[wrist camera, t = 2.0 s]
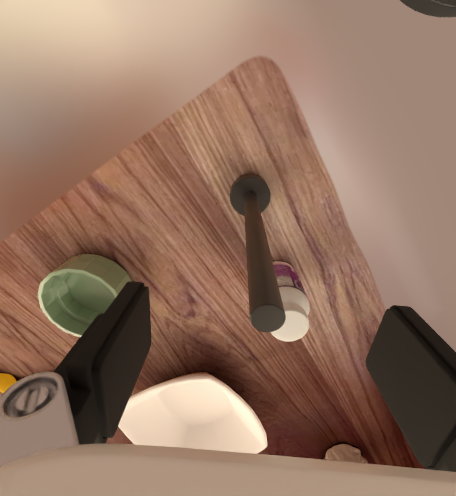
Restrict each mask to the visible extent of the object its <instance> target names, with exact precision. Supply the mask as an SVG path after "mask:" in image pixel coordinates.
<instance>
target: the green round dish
mask: <svg viewBox="0 0 456 496" xmlns="http://www.w3.org/2000/svg"><path fill="white" fill-rule="evenodd" d="M129 281H131V282H132V280H131V279H130V277H129V275H128V273H127V272H126V271H125V270H124V269H123V268H121V267H120V266H119V265H118V264H117V263H116V262H114V261H112V260H109V259H107V258H105V257H103V256H100V255H92V254H81V255H78V256H74V257H71V258H69V259H68V260H66V261H65V262H64V263H62V264H61V265H60V266H58V267H57V268H56V269H54V270H53V271H52V272H50V273H49V274H48V275H47V276H46V277H45V278H44V279H43V280H42V281H41V282H40V286H39V290H38V295H37V296H38V299H39V303H40V307H41V310H42V311H43V312H44V314H45V315H46V316H47V318H48V319H49V320H50V321H51V322H52V323H53V324H54V325H56V326H57V327H59V328H60V329H61V330H63V331H64V332H67V333H69V334H72V335H74V336H77V337H81V336H82V335H83V333H84V332H85V331H86V329H87V328H88V327H89V325H90V324H91V323H92V322H93V320H94V319H95V318H96V317H97V316H98V315H99V314H101V313H103V314H104V313H105V311H106V310H107V309H108V307H109V306H110V305H111V303H112V302H113V300H114V299H115V298H116V296H117V295H118V294H119V292H120V291H121V290H122V288H123V287H124V286H125V284H126V283H127V282H129Z"/></svg>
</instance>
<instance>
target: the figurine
mask: <svg viewBox="0 0 456 496" xmlns="http://www.w3.org/2000/svg"><path fill="white" fill-rule="evenodd" d="M323 460H332V461H343V462H355V463H366V464H368V463H367V460H366V459H365V458H363V457H362V456H361V453H360V450H359V449H358V448H355V447H352V446H350V445H347V444H339V445H335V446H333V447H332V448H330V449H328V451H327V452H326V457H325V459H323Z"/></svg>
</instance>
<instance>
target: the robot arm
mask: <svg viewBox="0 0 456 496" xmlns="http://www.w3.org/2000/svg"><path fill="white" fill-rule="evenodd" d="M150 346H151V324H150V303H149V288H148V287H145V286H144V283H142V282H131V281H129V282H127V283H126V284H125V286H124V287H123V288H122V290H121V291H120V292H119V294H118V295H117V296H116V298H115V299H114V300H113V302H112V303H111V305H110V306H109V307H108V309H107V310H106V311H105V313H104V314H103V313H101V314H99V315H98V316H97V317H96V318H95V319H94V320H93V322H92V323H91V324H90V325H89V327H88V328H87V329H86V331H85V332H84V333H83V335H82V336H81V337H80V338H79V340H78V341H77V342H76V344H75V345H74V346H73V347H72V349H71V350H70V351H69V353H68V354H67V355H66V357H65V358H64V359H63V360H62V362H61V363H60V364H59V366H58V367H57V368H56V370H55V371H54V372H39V373H35V374H32V375H29V376H27V377H25V378H23V379H21V380H19V381H17V382H16V383H14V384H13V385H12V386H10V387H9V388H8V389H7V390H6V391H5V392H4V393H3V394H2V395H1V397H0V496H456V352H455V351H454V350H453V349H452V348H451V347H450V346H449V345H448V344H447V343H446V342H445V341H444V340H443V339H442V338H441V337H440V336H439V335H438V334H437V333H436V332H435V331H434V330H433V329H432V328H431V327H430V326H429V325H428V324H427V323H426V322H425V321H424V320H423V319H422V318H421V317H420V316H419V315H418V314H417V313H416V312H415V311H414V310H413V309H412V308H411V307H407V306H396V305H394V306H392V307H390V309H387V310H386V312H385V314H384V316H383V319H382V321H381V324H380V326H379V329H378V331H377V334H376V336H375V338H374V341H373V343H372V346H371V348H370V351H369V353H368V356H367V358H366V366H367V369H368V371H369V373H370V375H371V376H372V378H373V380H374V382H375V384H376V386H377V387H378V389H379V391H380V393H381V395H382V397H383V398H384V400H385V402H386V404H387V406H388V407H389V409H390V411H391V413H392V415H393V417H394V418H395V420H396V422H397V424H398V426H399V428H400V429H401V431H402V433H403V435H404V437H405V438H406V440H407V442H408V444H409V446H410V448H411V449H412V451H413V453H414V455H415V457H416V459H417V460H418V462H419V463H420V464H421V465H423V466H424V467H425V469H418V468H408V467H397V466H387V465H376V464H366V463H355V462H343V461H332V460H321V459H310V458H299V457H287V456H276V455H265V454H253V453H241V452H229V451H217V450H205V449H193V448H181V447H165V446H150V445H134V444H105V443H106V440H107V438H108V437H109V438H112V437H113V436H114V434H115V432H116V430H117V427H118V425H119V422H120V420H121V418H122V415H123V413H124V410H125V408H126V405H127V403H128V400H129V398H130V396H131V393H132V391H133V388H134V386H135V383H136V381H137V378H138V376H139V374H140V371H141V369H142V366H143V364H144V361H145V359H146V356H147V354H148V352H149V349H150Z"/></svg>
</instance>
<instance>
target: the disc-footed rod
mask: <svg viewBox="0 0 456 496" xmlns="http://www.w3.org/2000/svg"><path fill="white" fill-rule="evenodd" d="M230 201H231V204H232V206H233V208H234V209H235V210H236V211H237V212H238V213H239V214H241V215H244V216H245V232H246V251H247V271H248V290H249V310H250V322H251V324H252V325H253V327H254V328H256V329H257V330H259V331H262V332H273V331H276V330H278V329H280V328H281V327H282V326H283V324H284V323H285V320H286V315H285V311H284V307H283V303H282V299H281V294H280V290H279V286H278V282H277V278H276V274H275V270H274V266H273V262H272V257H271V253H270V249H269V245H268V241H267V237H266V233H265V229H264V225H263V221H262V216H261V213H262V212H263V211H264V210H265V209H266V208H267V206H268V204H269V202H270V190H269V188H268V186H267V184H266V182H265V181H264V180H263V179H262V178H261V177H260V176H258V175H255V174H246V175H243V176H241V177H239V178H238V179H237V180H236V181H235V182H234V183H233V185H232V188H231V193H230Z"/></svg>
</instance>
